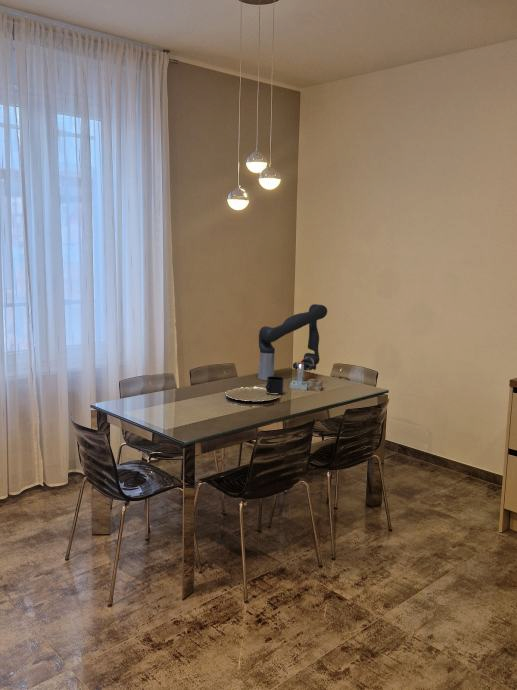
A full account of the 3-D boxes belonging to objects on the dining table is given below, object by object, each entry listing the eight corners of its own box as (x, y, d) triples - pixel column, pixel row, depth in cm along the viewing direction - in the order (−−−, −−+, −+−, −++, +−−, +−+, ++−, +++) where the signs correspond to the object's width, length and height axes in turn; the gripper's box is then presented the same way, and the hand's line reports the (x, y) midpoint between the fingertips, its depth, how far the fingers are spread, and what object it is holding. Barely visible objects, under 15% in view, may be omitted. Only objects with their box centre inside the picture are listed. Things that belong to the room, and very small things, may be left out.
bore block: (306, 389, 370) (307, 381, 369) (308, 386, 378) (309, 378, 377) (320, 391, 368) (320, 383, 367) (322, 388, 376) (322, 380, 375)
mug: (259, 393, 358) (260, 378, 356) (274, 390, 366) (275, 375, 365) (271, 397, 351) (272, 381, 350) (286, 393, 360) (286, 378, 358)
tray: (289, 388, 372) (290, 384, 371) (293, 384, 381) (293, 380, 381) (306, 390, 369) (306, 385, 369) (309, 386, 379) (309, 382, 378)
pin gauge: (296, 386, 374) (297, 362, 371) (297, 385, 377) (298, 361, 375) (302, 387, 373) (303, 363, 370) (303, 386, 377) (304, 361, 374)
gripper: (296, 356, 398) (291, 361, 382) (318, 358, 394) (314, 363, 379) (296, 368, 399) (291, 373, 383) (318, 370, 396) (313, 375, 380)
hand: (302, 368), depth 381 cm, fingers open, 8 cm apart
